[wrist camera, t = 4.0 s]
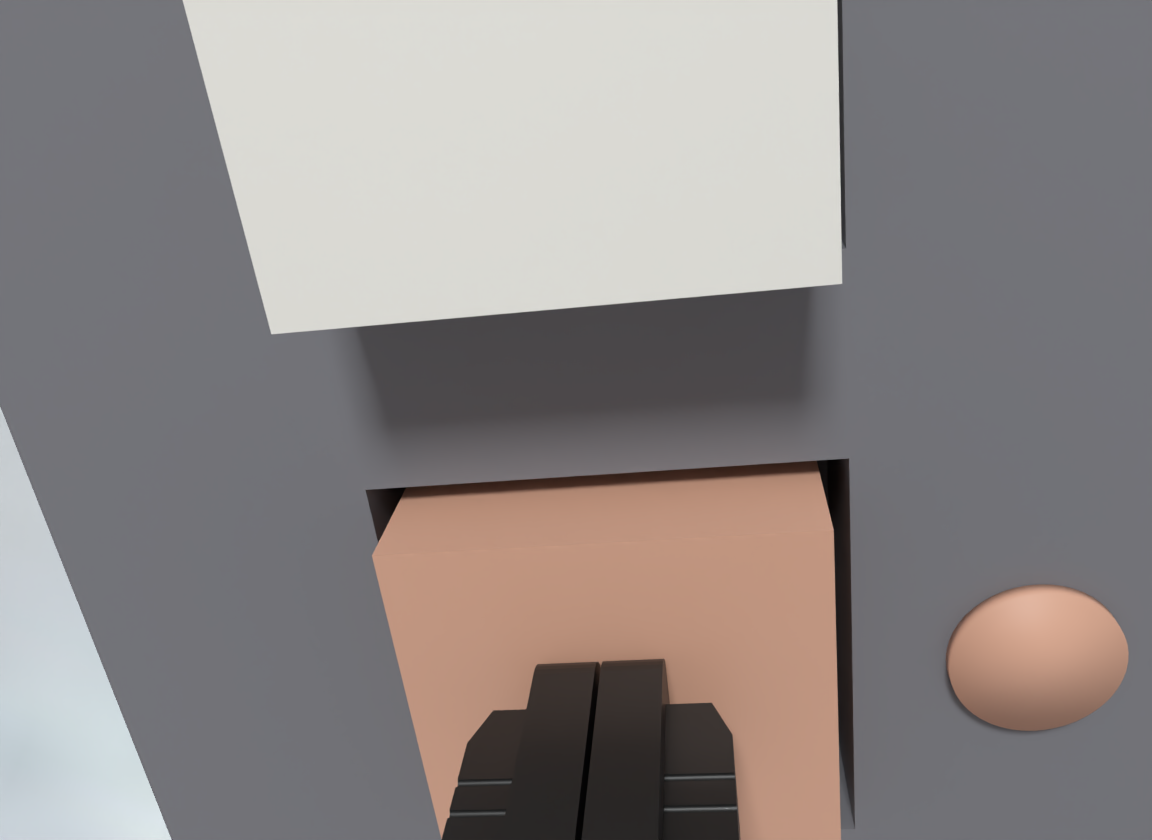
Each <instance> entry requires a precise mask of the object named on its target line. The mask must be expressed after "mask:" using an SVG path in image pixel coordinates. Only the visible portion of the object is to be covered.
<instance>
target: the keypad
mask: <svg viewBox="0 0 1152 840" xmlns="http://www.w3.org/2000/svg"><path fill="white" fill-rule="evenodd" d="M837 14H838V71H839V129H840V186H841V244H842V284H835V285H824V286H813V287H801V288H790V289H779V290H767V291H756V292H745V293H733V294H722V295H711V296H699V297H688V298H677V299H666V300H654V301H643V302H632V303H620V304H609V305H598V306H586V307H575V308H564V309H552V310H541V311H530V312H519V313H507V314H496V315H485V316H473V317H462V318H451V319H439V320H428V321H417V322H405V323H394V324H383V325H371V326H360V327H349V328H338V329H326V330H315V331H304V332H292V333H281V334H271V331H270V327H269V324H268V320H267V316H266V312H265V309H264V305H263V301H262V297H261V294H260V290H259V286H258V282H257V278H256V275H255V271H254V267H253V263H252V260H251V256H250V252H249V248H248V245H247V241H246V237H245V233H244V230H243V226H242V222H241V218H240V214H239V211H238V207H237V203H236V199H235V196H234V192H233V188H232V184H231V181H230V177H229V173H228V169H227V166H226V162H225V158H224V154H223V150H222V147H221V143H220V139H219V135H218V132H217V128H216V124H215V120H214V117H213V113H212V109H211V105H210V102H209V98H208V94H207V90H206V86H205V83H204V79H203V75H202V71H201V68H200V64H199V60H198V56H197V53H196V49H195V45H194V41H193V38H192V34H191V30H190V26H189V22H188V19H187V15H186V11H185V7H184V4H183V0H0V407H1V409H2V412H3V414H4V417H5V419H6V422H7V424H8V427H9V429H10V432H11V434H12V437H13V440H14V442H15V445H16V447H17V450H18V452H19V455H20V457H21V460H22V462H23V465H24V467H25V470H26V472H27V475H28V477H29V480H30V482H31V485H32V488H33V490H34V493H35V495H36V498H37V500H38V503H39V505H40V508H41V510H42V513H43V515H44V518H45V520H46V523H47V525H48V528H49V530H50V533H51V536H52V538H53V541H54V543H55V546H56V548H57V551H58V553H59V556H60V558H61V561H62V563H63V566H64V568H65V571H66V573H67V576H68V579H69V581H70V584H71V586H72V589H73V591H74V594H75V596H76V599H77V601H78V604H79V606H80V609H81V611H82V614H83V616H84V619H85V621H86V624H87V627H88V629H89V632H90V634H91V637H92V639H93V642H94V644H95V647H96V649H97V652H98V654H99V657H100V659H101V662H102V664H103V667H104V669H105V672H106V675H107V677H108V680H109V682H110V685H111V687H112V690H113V692H114V695H115V697H116V700H117V702H118V705H119V707H120V710H121V712H122V715H123V717H124V720H125V723H126V725H127V728H128V730H129V733H130V735H131V738H132V740H133V743H134V745H135V748H136V750H137V753H138V755H139V758H140V760H141V763H142V766H143V768H144V771H145V773H146V776H147V778H148V781H149V783H150V786H151V788H152V791H153V793H154V796H155V798H156V801H157V803H158V806H159V808H160V811H161V814H162V816H163V819H164V821H165V824H166V826H167V829H168V831H169V834H170V836H171V839H172V840H442V839H441V835H440V831H439V827H438V823H437V819H436V815H435V811H434V807H433V803H432V799H431V794H430V790H429V786H428V782H427V778H426V774H425V770H424V766H423V762H422V758H421V754H420V750H419V746H418V742H417V737H416V733H415V729H414V725H413V721H412V717H411V713H410V709H409V705H408V701H407V697H406V693H405V689H404V685H403V680H402V676H401V672H400V668H399V664H398V660H397V656H396V652H395V648H394V644H393V640H392V636H391V632H390V628H389V623H388V619H387V615H386V611H385V607H384V603H383V599H382V595H381V591H380V587H379V583H378V579H377V575H376V571H375V566H374V562H373V558H372V554H373V552H374V550H375V548H376V546H377V544H378V542H379V540H380V539H381V537H382V535H383V533H384V531H385V529H386V527H387V525H388V523H389V521H390V519H391V517H392V515H393V513H394V511H395V509H396V507H397V505H398V503H399V501H400V499H401V497H402V495H403V493H404V491H405V489H406V487H417V486H433V485H448V484H463V483H479V482H494V481H510V480H525V479H540V478H556V477H571V476H587V475H602V474H617V473H633V472H648V471H664V470H679V469H694V468H710V467H725V466H741V465H756V464H771V463H787V462H802V461H817V464H818V468H819V472H820V476H821V480H822V485H823V489H824V493H825V497H826V501H827V505H828V509H829V513H830V517H831V521H832V525H833V529H834V563H835V606H836V649H837V691H838V734H839V777H840V819H841V840H1152V0H837Z"/></svg>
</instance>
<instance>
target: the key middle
mask: <svg viewBox="0 0 1152 840" xmlns="http://www.w3.org/2000/svg"><path fill="white" fill-rule="evenodd" d="M183 4H184V7H185V11H186V15H187V19H188V22H189V26H190V30H191V34H192V38H193V41H194V45H195V49H196V53H197V56H198V60H199V64H200V68H201V71H202V75H203V79H204V83H205V86H206V90H207V94H208V98H209V102H210V105H211V109H212V113H213V117H214V120H215V124H216V128H217V132H218V135H219V139H220V143H221V147H222V150H223V154H224V158H225V162H226V166H227V169H228V173H229V177H230V181H231V184H232V188H233V192H234V196H235V199H236V203H237V207H238V211H239V214H240V218H241V222H242V226H243V230H244V233H245V237H246V241H247V245H248V248H249V252H250V256H251V260H252V263H253V267H254V271H255V275H256V278H257V282H258V286H259V290H260V294H261V297H262V301H263V305H264V309H265V312H266V316H267V320H268V324H269V327H270V331H271V334H281V333H292V332H304V331H315V330H326V329H338V328H349V327H360V326H371V325H383V324H394V323H405V322H417V321H428V320H439V319H451V318H462V317H473V316H485V315H496V314H507V313H519V312H530V311H541V310H552V309H564V308H575V307H586V306H598V305H609V304H620V303H632V302H643V301H654V300H666V299H677V298H688V297H699V296H711V295H722V294H733V293H745V292H756V291H767V290H779V289H790V288H801V287H813V286H824V285H835V284H842V244H841V186H840V129H839V71H838V14H837V0H183Z"/></svg>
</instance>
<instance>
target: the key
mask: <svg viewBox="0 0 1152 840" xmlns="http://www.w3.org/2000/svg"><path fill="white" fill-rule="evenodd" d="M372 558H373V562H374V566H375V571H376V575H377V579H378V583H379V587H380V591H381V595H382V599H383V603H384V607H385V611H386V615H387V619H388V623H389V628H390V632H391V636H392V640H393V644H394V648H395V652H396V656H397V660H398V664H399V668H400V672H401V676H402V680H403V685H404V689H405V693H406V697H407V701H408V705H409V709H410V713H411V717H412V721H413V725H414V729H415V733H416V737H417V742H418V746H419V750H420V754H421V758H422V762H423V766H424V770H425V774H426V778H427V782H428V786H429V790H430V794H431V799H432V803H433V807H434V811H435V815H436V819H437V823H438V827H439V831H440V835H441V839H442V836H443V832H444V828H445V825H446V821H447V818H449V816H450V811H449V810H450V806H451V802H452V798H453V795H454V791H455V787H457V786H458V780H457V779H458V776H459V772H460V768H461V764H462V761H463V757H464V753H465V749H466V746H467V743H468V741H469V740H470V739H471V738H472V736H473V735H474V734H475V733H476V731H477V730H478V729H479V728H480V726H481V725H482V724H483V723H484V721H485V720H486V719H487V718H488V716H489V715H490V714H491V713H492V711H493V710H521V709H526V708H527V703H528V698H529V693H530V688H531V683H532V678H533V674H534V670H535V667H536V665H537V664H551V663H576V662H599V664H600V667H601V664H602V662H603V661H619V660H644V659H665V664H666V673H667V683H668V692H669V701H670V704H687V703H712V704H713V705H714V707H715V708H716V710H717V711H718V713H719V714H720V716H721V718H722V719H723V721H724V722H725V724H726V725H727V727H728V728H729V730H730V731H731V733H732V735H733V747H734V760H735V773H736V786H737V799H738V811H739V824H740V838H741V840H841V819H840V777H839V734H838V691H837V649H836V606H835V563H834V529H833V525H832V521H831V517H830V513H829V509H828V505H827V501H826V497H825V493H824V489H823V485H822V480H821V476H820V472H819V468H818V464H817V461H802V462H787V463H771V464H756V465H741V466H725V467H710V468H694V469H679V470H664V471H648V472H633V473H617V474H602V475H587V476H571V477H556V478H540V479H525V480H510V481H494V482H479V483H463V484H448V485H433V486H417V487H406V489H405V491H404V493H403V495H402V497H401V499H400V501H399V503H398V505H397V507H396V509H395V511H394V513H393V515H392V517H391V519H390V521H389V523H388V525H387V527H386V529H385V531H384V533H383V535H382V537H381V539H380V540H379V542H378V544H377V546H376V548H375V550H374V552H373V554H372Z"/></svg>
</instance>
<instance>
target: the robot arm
mask: <svg viewBox="0 0 1152 840" xmlns="http://www.w3.org/2000/svg"><path fill="white" fill-rule="evenodd" d="M457 780H458V786H457V787H455V791H454V795H453V798H452V802H451V806H450V810H449V811H450V816H449V818H447V821H446V825H445V828H444V832H443V836H442V840H741V838H740V824H739V811H738V799H737V786H736V773H735V760H734V747H733V735H732V733H731V731H730V730H729V728H728V727H727V725H726V724H725V722H724V721H723V719H722V718H721V716H720V714H719V713H718V711H717V710H716V708H715V707H714V705H713V704H712V703H687V704H670V701H669V692H668V683H667V673H666V664H665V659H644V660H619V661H603V662H602V664H601V667H600V664H599V662H576V663H551V664H537V665H536V667H535V670H534V674H533V678H532V683H531V688H530V693H529V698H528V703H527V708H526V709H521V710H493V711H492V713H491V714H490V715H489V716H488V718H487V719H486V720H485V721H484V723H483V724H482V725H481V726H480V728H479V729H478V730H477V731H476V733H475V734H474V735H473V736H472V738H471V739H470V740H469V741H468V743H467V746H466V749H465V753H464V757H463V761H462V764H461V768H460V772H459V776H458V779H457Z"/></svg>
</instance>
